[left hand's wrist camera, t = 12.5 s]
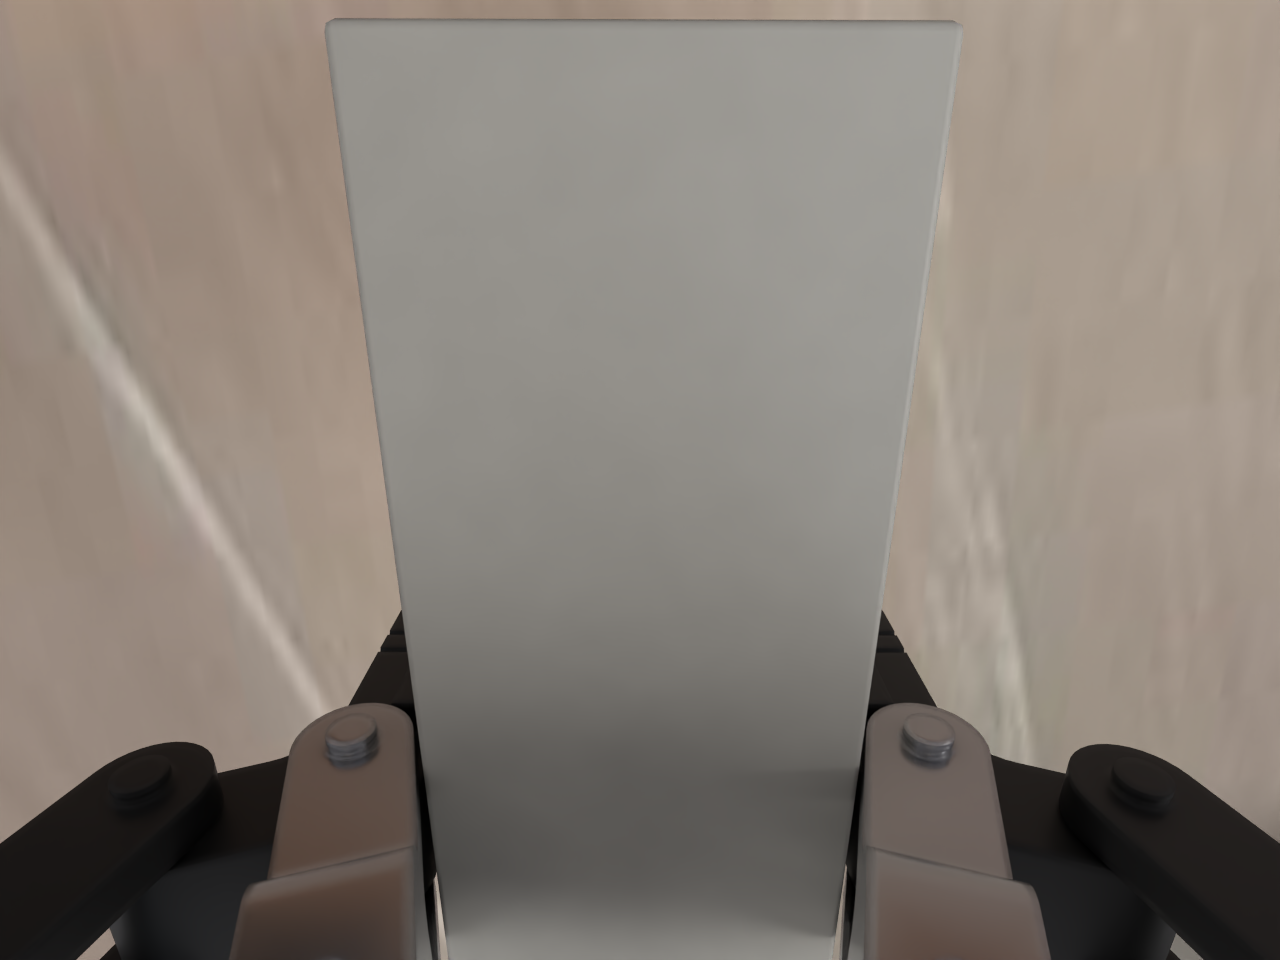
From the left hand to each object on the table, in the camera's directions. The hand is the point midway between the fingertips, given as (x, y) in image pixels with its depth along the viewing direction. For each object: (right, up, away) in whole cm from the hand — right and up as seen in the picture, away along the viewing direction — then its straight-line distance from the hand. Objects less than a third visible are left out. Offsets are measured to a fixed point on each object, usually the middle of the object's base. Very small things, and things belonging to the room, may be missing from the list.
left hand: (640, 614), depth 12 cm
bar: (0, -27, +13) cm, 29 cm away
